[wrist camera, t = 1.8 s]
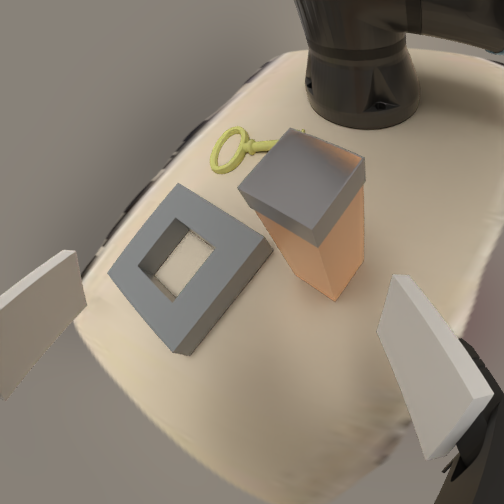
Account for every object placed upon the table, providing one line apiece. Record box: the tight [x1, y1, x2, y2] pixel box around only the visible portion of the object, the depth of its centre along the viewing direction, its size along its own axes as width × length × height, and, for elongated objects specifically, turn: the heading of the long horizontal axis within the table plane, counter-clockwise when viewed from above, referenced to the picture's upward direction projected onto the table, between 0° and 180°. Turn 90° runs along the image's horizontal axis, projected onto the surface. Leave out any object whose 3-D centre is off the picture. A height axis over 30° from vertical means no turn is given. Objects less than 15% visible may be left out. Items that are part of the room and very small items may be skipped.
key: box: [210, 126, 305, 174], centre depth 35 cm, size 7×12×2 cm, turn 93°
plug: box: [237, 128, 366, 301], centre depth 21 cm, size 5×5×14 cm
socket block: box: [107, 183, 273, 356], centre depth 30 cm, size 13×13×3 cm
